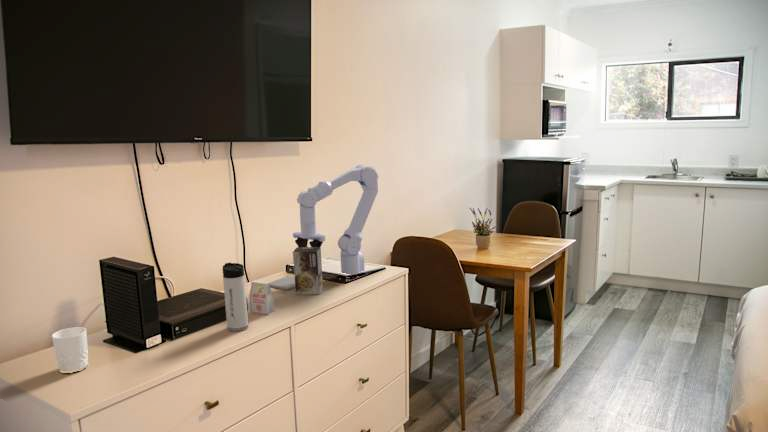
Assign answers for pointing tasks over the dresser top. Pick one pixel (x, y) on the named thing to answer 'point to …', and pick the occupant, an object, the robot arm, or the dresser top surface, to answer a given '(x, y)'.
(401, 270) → the dresser top surface
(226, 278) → the travel mug
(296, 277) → the coffee box
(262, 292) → the white printed carton
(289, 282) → the coaster
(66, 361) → the white cup
